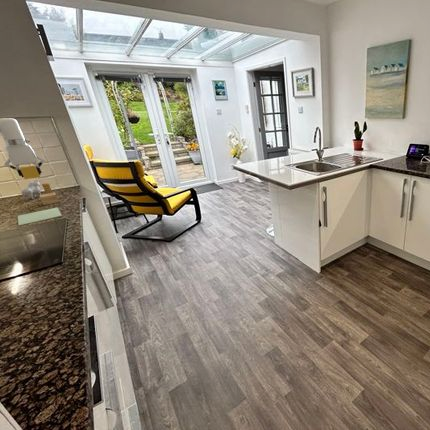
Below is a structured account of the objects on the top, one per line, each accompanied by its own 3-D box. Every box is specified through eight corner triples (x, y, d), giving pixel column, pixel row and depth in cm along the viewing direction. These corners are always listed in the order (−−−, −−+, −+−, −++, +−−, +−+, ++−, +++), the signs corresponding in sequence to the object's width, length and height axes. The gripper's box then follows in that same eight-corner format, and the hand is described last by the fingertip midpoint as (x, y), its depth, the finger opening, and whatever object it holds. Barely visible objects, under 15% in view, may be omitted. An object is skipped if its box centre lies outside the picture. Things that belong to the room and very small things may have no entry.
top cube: (24, 177, 147) (19, 167, 144) (39, 175, 151) (34, 165, 149) (24, 179, 143) (19, 168, 141) (40, 176, 147) (35, 166, 145)
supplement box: (48, 198, 171) (41, 184, 167) (47, 197, 173) (41, 183, 169) (55, 197, 173) (48, 182, 169) (54, 196, 175) (48, 182, 171)
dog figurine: (47, 194, 181) (41, 179, 177) (32, 199, 170) (25, 183, 166) (38, 194, 180) (31, 179, 176) (23, 200, 169) (15, 184, 165)
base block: (42, 202, 163) (39, 195, 161) (57, 199, 168) (54, 192, 166) (43, 205, 159) (39, 197, 157) (59, 202, 164) (55, 194, 162)
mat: (18, 216, 142) (17, 215, 142) (57, 208, 153) (57, 207, 153) (18, 225, 130) (18, 225, 130) (62, 216, 141) (61, 215, 140)
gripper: (38, 140, 148) (51, 172, 155) (-9, 144, 136) (8, 178, 143) (39, 141, 143) (53, 173, 150) (-9, 145, 131) (8, 180, 138)
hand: (31, 175), depth 146 cm, fingers closed on top cube, 6 cm apart
